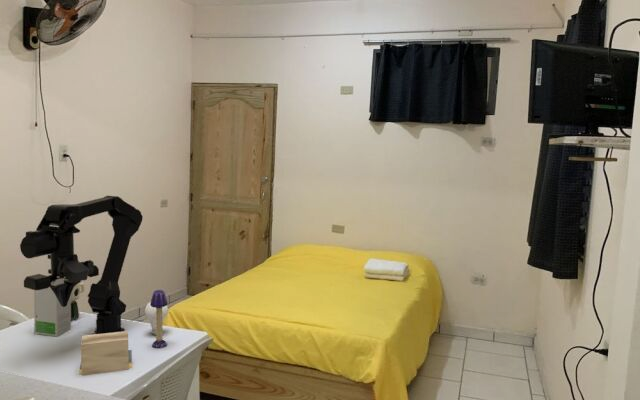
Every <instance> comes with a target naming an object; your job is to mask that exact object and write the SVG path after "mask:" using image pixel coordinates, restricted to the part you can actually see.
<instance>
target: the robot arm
mask: <svg viewBox="0 0 640 400" xmlns="http://www.w3.org/2000/svg"><path fill="white" fill-rule="evenodd" d="M106 212H107V215H108V216H109V217H111V218H112V223H111V225H112V229H113V233H114V234H113V238H112V240H111V244H110V248H109V251H108V255H107V257H106V261H105V265H104V268H103V270H102V274H101V277H100V279H99V280H98V281H97V283H94V282H93V283H91V285H90V290H89V293H88V294H87V298H88V299H87V303H88V305H89V307H90V308H91V311H92V313H95V314H96V319H95V330H94V331H93V333H95V334H104V333H114V332H123V331H125V328H124V327H122V315H123V314H124V313H125V312H126V309H127V304H126V303H125V302H123V301H122V300H121V299H120V298H121V297H120V296H121V289H120V287H119V280H120V276H121V273H122V269H123V267H124V263H125V259H126V256H127V253H128V248H129V245H130V241H131V239H132V237H133V236H134V235H135V234H136V233H137V232H138V231H139V229H140V226H141V225H142V222H143V215H142V212H141V211H140V210H139V209H138V208H136V207H135V206H133V205H131V204H130V203H128V202H126V201H124V199H123V198H121V197H119V196H116V195H115V196H114V195H105V196H104V197H99V198H95V199H91V200H88V201H83V202H79V203H75V204H51V205H49V206H48V207H47V209H46V211H45V213H44V215H43V216H42V218H41V220H40V221H39V224H38V225H37V227H36V229H35V230H33V231H32V230H29V231H25V236H24V237H23V238H22V239H21V241H20V244H19V247H20V252H21V254H22V255H23V257H24V258H26V259H28V260H29V259H34V258H39V257H43V256H47V259H49V260H50V268H49V269H48V270H47V273H48V274H50V275H45V274H40V273H38V274H37V273H36V274H32V275H29V276H26V277H25V278H24V280H23V288H26V289H29V290H33V291H34V290H42V289H46V288H49V287H50V288H51V289H52V291H53V292H54V294H55V295H56V297H57V299H58V301H59V303H60V304H61V306H62V307H66V306H67V303H68V301H69V298H70V295H71V292H72V290H73V288H74V286H75V285H77V284H78V283H82V281H86V280H88V277H89V278H93V277H97V276H99V275H100V273H99V269H100V268H99V267H98V266H97V265H96V264H94V261H93V260H91V259H89V260H85V261H79V257H78V254H76V253H75V248H74V247H75V243H74V234H78V233H81V230H80V229H79V228H77V227H76V225H77V224H80V223H81V222H82V221H83V220H84V219H85V218H89V217H92V216H95V215H99V214H102V213H106Z"/></svg>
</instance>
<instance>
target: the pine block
mask: <svg viewBox="0 0 640 400" xmlns="http://www.w3.org/2000/svg"><path fill="white" fill-rule="evenodd" d="M128 350H129V331H128V330H126V331H125V330H124V331H121V332H114V333H104V334H97V333H95V334H88V335H82V337H81V343H80V356H81V357H80V360H81V361H80V365H82V374H81V376H87V375H93V374H95V375H96V374H101V373H108V372H117V371H124V370H129V369H130V368H129V352H128Z"/></svg>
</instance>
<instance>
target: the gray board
mask: <svg viewBox="0 0 640 400" xmlns="http://www.w3.org/2000/svg"><path fill="white" fill-rule="evenodd" d="M132 351H133V350H132V349H128V352H129V369H132V368H133V358H132V357H133V356H132V355H133V353H132ZM78 375H82V365H81V364H80V366H79V370H78Z"/></svg>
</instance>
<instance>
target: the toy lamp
mask: <svg viewBox="0 0 640 400" xmlns="http://www.w3.org/2000/svg"><path fill="white" fill-rule="evenodd" d="M150 302H151V303H150V305H151V306H152V307H156V310H157V311H156V315H157V316H156V320H157V322H156V325H157V327H156V330H157V332H156V335H155V339H156V340H154V341H153V343H152V344H151V347H152V348H153V349H156V350H157V349H164V348H166V347H167V346H168V343H167V341H166V340H164V339H163V325H164V323H163V322H164V321H162V318H163V317H162V313H163V312H162V307H164V306H166V305H167V306H168V300H167V296H166V293H165V291H164V290H162V289H157V290H154V291H153V293H152V296H151V299H150ZM162 324H163V325H162Z"/></svg>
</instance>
